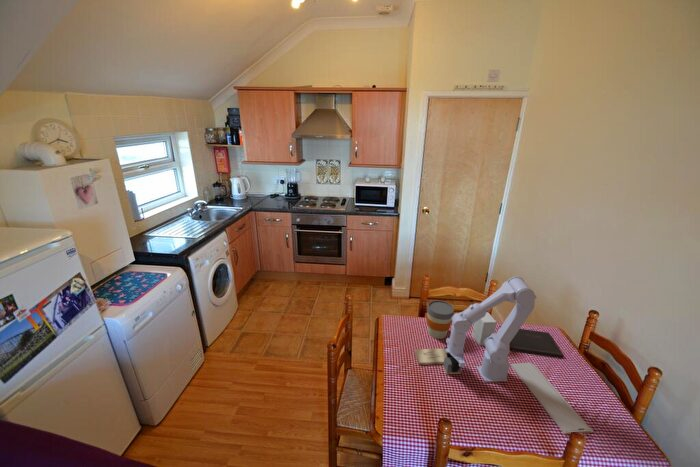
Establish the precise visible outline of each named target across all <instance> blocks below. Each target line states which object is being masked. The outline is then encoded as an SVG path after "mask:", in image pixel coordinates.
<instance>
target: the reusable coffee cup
mask: <svg viewBox="0 0 700 467" xmlns="http://www.w3.org/2000/svg"><path fill="white" fill-rule="evenodd" d="M454 314H455V309H454V306H453V305H452V304H451V303H449V302H447V301H445V300H440V299H439V300H438V299H435V300H432V301H429V303H428V304H427V307H426V325H427V333H428V335H429V336H430V337H432V338H434V339H439V340H441V339H445V338H446V336H447V334H448V331H449V330H450V328H451V327H452V324H453V322H452V320H451V317H453V315H454Z"/></svg>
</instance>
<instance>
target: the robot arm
mask: <svg viewBox="0 0 700 467" xmlns="http://www.w3.org/2000/svg"><path fill="white" fill-rule="evenodd" d="M536 299H537V295H536V294H535V292H534V291H533V289H532V288H531V287H529V285H528V284H527V283H526V282H525V280H524V279H523V278H522V277H520V276H512V277H511V278H509V279H508V280H506V281H504V282H503V283H502V285H501V286H500V287H499V288H498V289H497V290H496V291H494V292H493V293H492V294H491V295H490V296H488V297H487V298H485V299H484V300H482V302H480V303H478V302H474V304H470V305H469V306H468V307H467V308H466V309H464V310H463V311H461V312H456V313H454V315H453V317H451V320H452V323H451V329H450V335H449V337H447V338H446V340H445V343H446V344H447V346H445V347H444V349H445V351H446V354H447V357H454V358H450V360H451V363H452V372H457V371H458V370H459V368H460V367H462V368H464V367H466V360H465V355H464V348H465V342H466V337H467V333H468V332H469V331H470V330H471V327H472V326H473V325H474V323H475V322H477V321H478V320H480V319H481V318H483V317H484V316H485V315H486V312H489V310H491V309H492V308H494V307H497V306H498V305H500V304H502V303H504V302H508V303H512V304H515V305H514V307H513V309H512V310H511V312H510V313H509V314H508V315H507V317H506V319H505V320H504V321H503V323H502V325H500V326H501V328H500V327H499V329H498V331H496V332H497V333H492V334H491V336H490V337H488V338H487V339H485V341H484V345H483V346H484V347H485V351H484V353H483V358H482V362H481V365H478V366H476V369H477V371H478V373H479V374H480V376H481V377H482V379H483V380H484V383H490V382H491V383H492V382H493V383H494V382H507V381H508V379H507V377H508V373H509V370H510V362H509V359H508V355H509V354H510V352H511V351H510V347H509V344H510V342H511V340H512V339H513V338H514V336H515V335H516V333H517V332H518V330H519V329H522V326H523V325H524V323H525V322H526V321H527V319H528V318H529V316H530V315H531V313H532V312H533V311H534V309H535V304H536V303H535V300H536Z"/></svg>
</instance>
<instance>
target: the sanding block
mask: <svg viewBox="0 0 700 467" xmlns="http://www.w3.org/2000/svg"><path fill="white" fill-rule="evenodd" d="M450 358H454V357H445V359H444V364H442V367H443V370H444V372H445V373H446V375H457V374H462V369H463V367H460V368H459V370H458V371H457V372H452V363H451V360H450Z"/></svg>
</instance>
